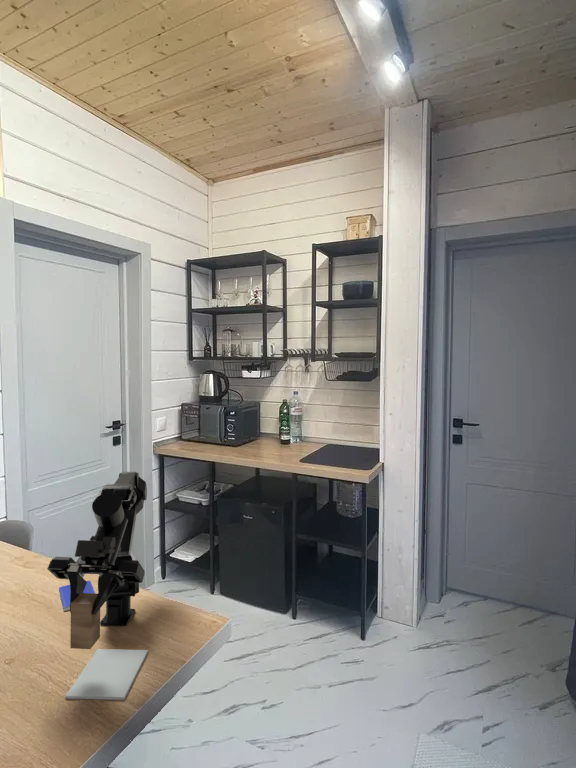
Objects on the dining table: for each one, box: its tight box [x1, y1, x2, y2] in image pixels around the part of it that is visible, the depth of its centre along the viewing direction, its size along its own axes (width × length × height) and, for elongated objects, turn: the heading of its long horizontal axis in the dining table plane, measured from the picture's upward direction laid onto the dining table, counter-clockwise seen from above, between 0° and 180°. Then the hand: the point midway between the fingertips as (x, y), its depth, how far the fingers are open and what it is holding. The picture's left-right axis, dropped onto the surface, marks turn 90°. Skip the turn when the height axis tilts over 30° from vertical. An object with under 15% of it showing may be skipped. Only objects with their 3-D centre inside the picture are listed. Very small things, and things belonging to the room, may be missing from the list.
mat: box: [65, 648, 149, 701], centre depth 89 cm, size 14×11×1 cm
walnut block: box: [69, 593, 101, 650], centre depth 88 cm, size 4×4×9 cm
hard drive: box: [58, 580, 96, 612], centre depth 119 cm, size 2×8×12 cm
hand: (82, 613), depth 87 cm, fingers closed on walnut block, 4 cm apart
